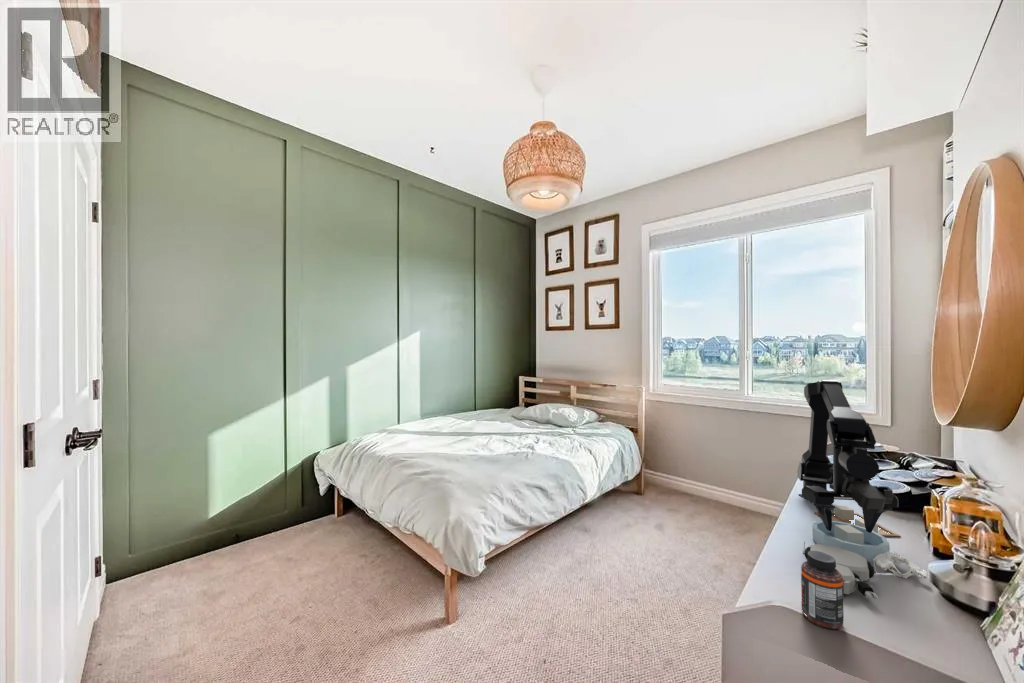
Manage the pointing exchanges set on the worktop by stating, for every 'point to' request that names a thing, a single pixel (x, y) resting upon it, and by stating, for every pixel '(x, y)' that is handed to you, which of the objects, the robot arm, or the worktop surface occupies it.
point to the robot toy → (849, 568)
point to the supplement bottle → (822, 590)
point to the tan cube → (844, 512)
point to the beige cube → (848, 534)
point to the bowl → (869, 550)
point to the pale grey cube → (861, 523)
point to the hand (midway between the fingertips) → (848, 531)
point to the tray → (835, 518)
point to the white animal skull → (888, 558)
